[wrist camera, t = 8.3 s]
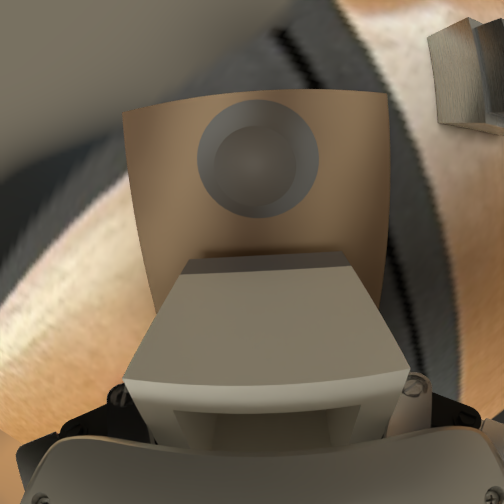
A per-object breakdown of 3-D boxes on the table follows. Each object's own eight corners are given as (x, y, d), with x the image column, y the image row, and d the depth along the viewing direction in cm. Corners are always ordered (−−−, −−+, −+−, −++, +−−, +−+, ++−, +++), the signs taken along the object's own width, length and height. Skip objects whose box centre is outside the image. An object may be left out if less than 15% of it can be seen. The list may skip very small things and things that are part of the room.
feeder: (489, 58, 9) (556, 47, 4) (497, 135, 11) (570, 146, 6) (427, 37, 10) (494, 5, 4) (438, 122, 12) (517, 124, 6)
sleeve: (341, 251, 12) (410, 368, 5) (332, 364, 14) (357, 481, 8) (189, 259, 12) (122, 378, 6) (211, 369, 14) (186, 485, 8)
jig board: (378, 96, 11) (432, 80, 7) (368, 329, 16) (395, 388, 11) (131, 113, 12) (72, 107, 8) (171, 338, 17) (146, 398, 12)
